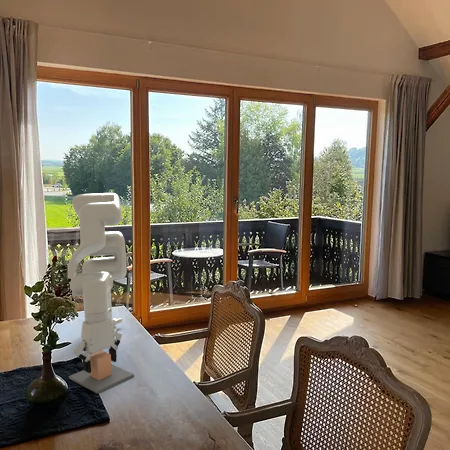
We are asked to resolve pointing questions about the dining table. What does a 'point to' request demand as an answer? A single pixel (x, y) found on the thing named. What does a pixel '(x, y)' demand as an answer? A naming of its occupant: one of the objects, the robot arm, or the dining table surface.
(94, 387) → the mat
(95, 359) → the block
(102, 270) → the robot arm
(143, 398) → the dining table surface
